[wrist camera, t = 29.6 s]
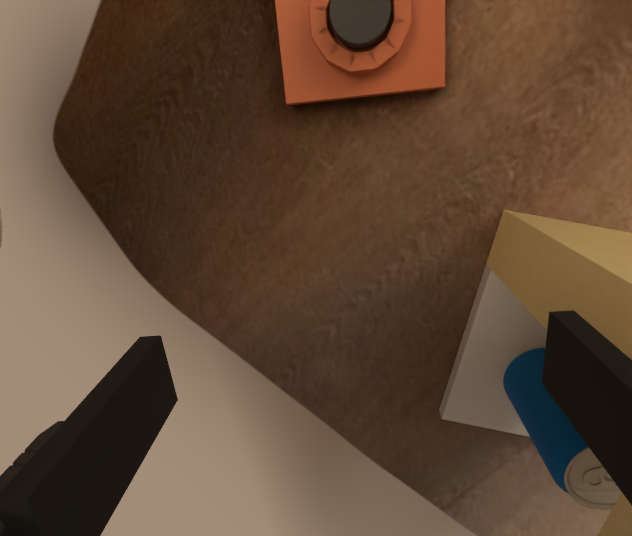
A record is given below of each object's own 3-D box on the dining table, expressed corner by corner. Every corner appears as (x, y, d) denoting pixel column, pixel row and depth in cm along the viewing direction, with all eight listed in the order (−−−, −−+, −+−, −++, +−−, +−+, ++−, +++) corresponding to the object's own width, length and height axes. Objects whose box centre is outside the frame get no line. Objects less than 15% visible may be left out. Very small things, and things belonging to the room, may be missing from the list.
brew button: (333, 52, 29) (331, 47, 28) (328, -14, 28) (326, -22, 26) (390, 44, 29) (392, 40, 27) (387, -22, 28) (389, -32, 26)
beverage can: (581, 392, 38) (673, 503, 27) (510, 411, 40) (570, 524, 29) (565, 334, 37) (657, 426, 25) (491, 355, 38) (548, 452, 27)
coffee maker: (438, 409, 42) (548, 799, 18) (503, 209, 35) (833, 400, 11) (576, 436, 42) (883, 876, 17) (669, 239, 35) (1412, 512, 10)
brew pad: (290, 105, 34) (282, 102, 30) (275, -38, 31) (263, -60, 27) (439, 89, 33) (450, 84, 29) (439, -63, 30) (451, -90, 26)
